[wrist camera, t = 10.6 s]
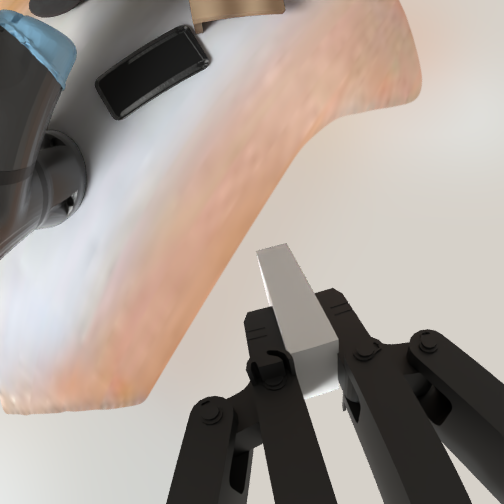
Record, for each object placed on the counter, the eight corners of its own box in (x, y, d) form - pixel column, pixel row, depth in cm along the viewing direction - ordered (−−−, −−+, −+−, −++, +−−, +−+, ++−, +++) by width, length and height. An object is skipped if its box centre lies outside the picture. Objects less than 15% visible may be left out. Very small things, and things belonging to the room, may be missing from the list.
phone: (211, 64, 31) (116, 123, 32) (211, 65, 32) (118, 123, 33) (184, 22, 27) (92, 81, 29) (185, 24, 28) (95, 82, 30)
